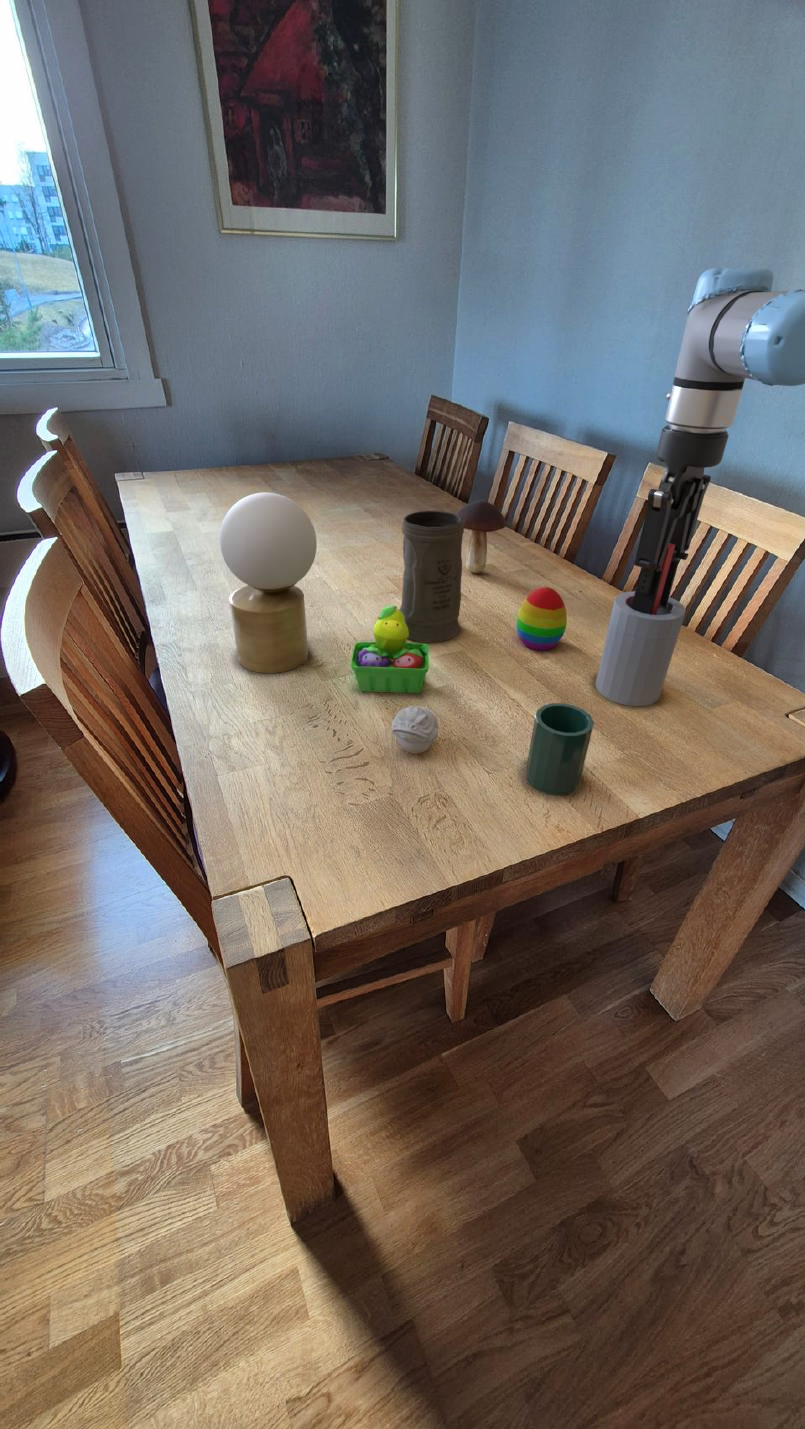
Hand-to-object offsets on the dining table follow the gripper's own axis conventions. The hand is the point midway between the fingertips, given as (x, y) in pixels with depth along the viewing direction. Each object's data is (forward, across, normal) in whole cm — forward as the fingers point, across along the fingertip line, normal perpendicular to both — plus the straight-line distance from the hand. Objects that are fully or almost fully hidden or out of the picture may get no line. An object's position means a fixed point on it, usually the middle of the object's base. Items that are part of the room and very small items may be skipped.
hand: (649, 607), depth 88 cm
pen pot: (+14, +26, +3) cm, 29 cm away
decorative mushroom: (+13, -20, -45) cm, 51 cm away
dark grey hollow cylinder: (+14, +6, -37) cm, 40 cm away
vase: (+14, 0, 0) cm, 14 cm away
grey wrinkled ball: (+14, +34, -13) cm, 39 cm away
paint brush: (+13, 0, 0) cm, 13 cm away
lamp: (+14, +30, -47) cm, 57 cm away
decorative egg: (+14, -3, -18) cm, 23 cm away
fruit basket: (+14, +24, -27) cm, 39 cm away
